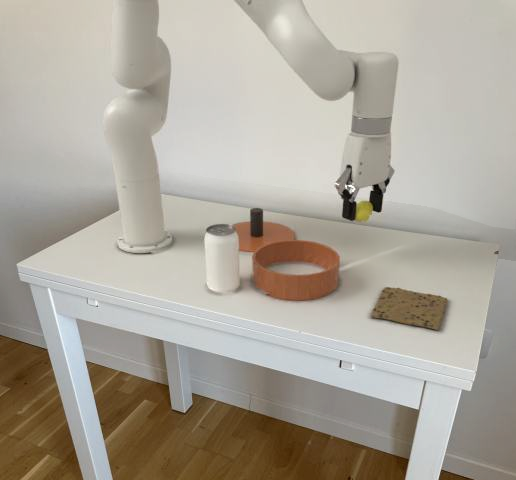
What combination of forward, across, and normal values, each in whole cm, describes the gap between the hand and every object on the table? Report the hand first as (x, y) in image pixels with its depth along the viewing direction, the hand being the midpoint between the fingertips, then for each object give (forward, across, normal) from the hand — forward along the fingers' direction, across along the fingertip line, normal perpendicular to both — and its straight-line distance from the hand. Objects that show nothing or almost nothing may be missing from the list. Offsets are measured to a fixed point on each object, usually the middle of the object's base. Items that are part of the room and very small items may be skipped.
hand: (361, 214), depth 113 cm
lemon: (+2, 0, 0) cm, 2 cm away
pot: (+10, +18, 0) cm, 21 cm away
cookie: (+10, +9, +22) cm, 26 cm away
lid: (+9, +11, -22) cm, 26 cm away
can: (+10, +31, -7) cm, 33 cm away
